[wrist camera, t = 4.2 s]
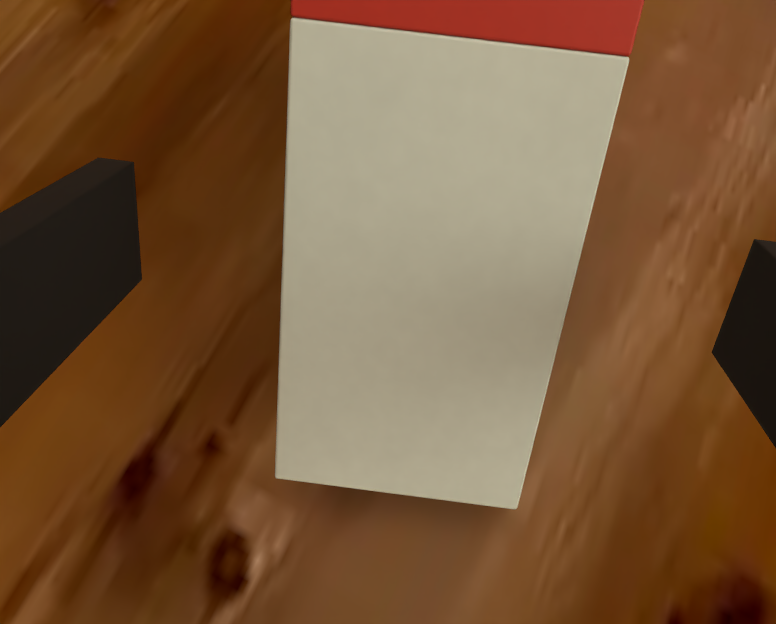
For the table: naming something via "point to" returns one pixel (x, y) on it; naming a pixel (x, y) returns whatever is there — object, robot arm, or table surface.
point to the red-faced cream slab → (435, 232)
